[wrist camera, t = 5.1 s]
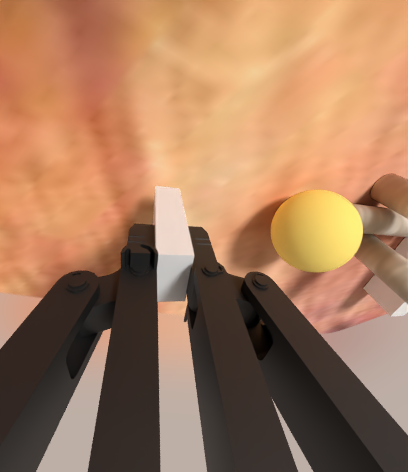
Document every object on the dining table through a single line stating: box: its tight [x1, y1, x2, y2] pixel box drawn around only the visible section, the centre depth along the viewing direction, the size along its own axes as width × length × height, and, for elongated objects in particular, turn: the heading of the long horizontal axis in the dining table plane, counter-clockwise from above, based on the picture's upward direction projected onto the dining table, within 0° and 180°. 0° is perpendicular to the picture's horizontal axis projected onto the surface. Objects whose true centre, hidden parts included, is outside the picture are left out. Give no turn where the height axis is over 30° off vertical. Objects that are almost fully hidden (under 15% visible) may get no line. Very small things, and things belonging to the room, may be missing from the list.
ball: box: [271, 190, 363, 273], centre depth 17 cm, size 6×6×6 cm
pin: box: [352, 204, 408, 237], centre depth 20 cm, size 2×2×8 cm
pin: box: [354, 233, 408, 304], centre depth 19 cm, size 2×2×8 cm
